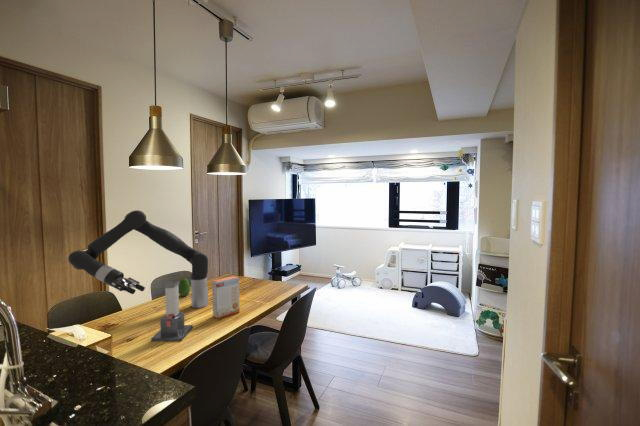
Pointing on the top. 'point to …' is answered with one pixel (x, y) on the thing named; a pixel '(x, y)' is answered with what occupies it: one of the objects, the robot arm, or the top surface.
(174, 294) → the column
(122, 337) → the top surface
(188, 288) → the avocado
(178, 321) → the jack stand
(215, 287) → the cracker box
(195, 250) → the robot arm
